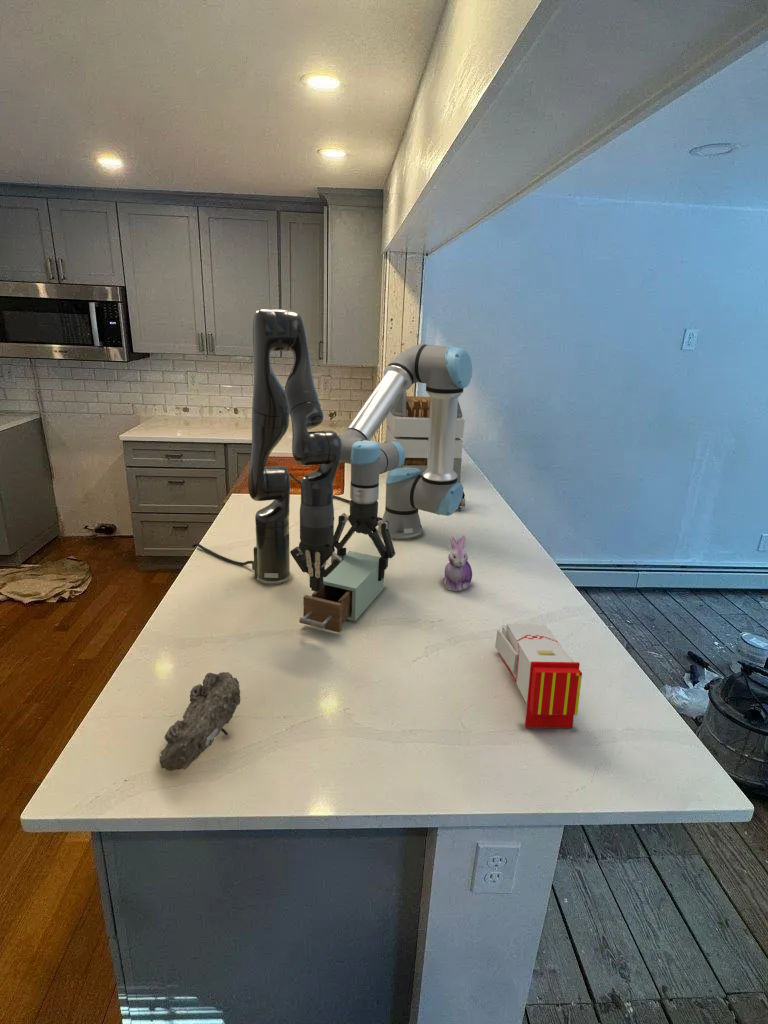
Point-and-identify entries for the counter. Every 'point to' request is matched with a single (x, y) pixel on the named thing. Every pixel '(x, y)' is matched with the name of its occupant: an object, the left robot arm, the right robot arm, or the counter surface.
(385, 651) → the counter surface
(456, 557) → the figurine
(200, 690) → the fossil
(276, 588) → the counter surface
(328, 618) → the drawer
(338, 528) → the right robot arm
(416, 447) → the white wooden crate
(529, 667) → the toy
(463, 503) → the figurine character
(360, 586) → the cabinet
